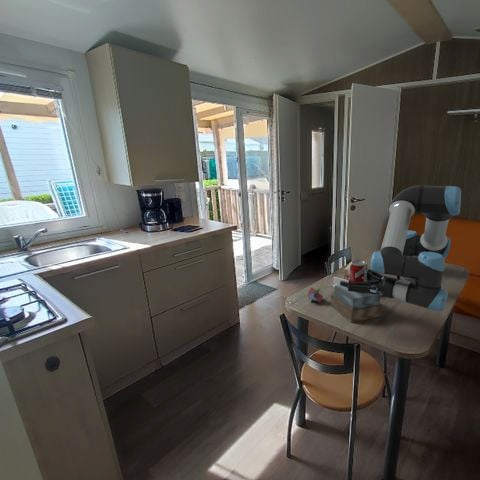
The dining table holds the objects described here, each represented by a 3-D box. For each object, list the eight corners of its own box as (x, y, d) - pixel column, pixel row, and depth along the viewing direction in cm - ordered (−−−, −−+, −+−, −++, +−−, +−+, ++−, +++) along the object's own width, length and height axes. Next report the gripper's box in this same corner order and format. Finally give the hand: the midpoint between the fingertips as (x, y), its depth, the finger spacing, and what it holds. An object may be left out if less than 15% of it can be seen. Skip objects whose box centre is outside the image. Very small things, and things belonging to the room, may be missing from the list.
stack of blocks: (354, 276, 160) (355, 255, 157) (366, 278, 156) (368, 257, 153) (343, 291, 143) (344, 268, 140) (356, 294, 140) (358, 271, 136)
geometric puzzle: (329, 298, 133) (320, 282, 134) (321, 303, 128) (312, 287, 130) (318, 302, 138) (309, 287, 139) (310, 308, 133) (301, 292, 135)
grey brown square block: (358, 299, 134) (360, 280, 132) (382, 315, 120) (384, 294, 118) (330, 305, 131) (331, 285, 128) (351, 322, 117) (352, 300, 114)
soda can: (348, 291, 121) (350, 265, 118) (349, 284, 127) (350, 259, 124) (366, 293, 119) (368, 266, 115) (365, 285, 125) (367, 260, 121)
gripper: (382, 311, 99) (326, 293, 114) (405, 286, 116) (353, 273, 131) (384, 291, 97) (327, 275, 112) (407, 269, 114) (354, 258, 129)
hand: (341, 274), depth 121 cm, fingers open, 13 cm apart
